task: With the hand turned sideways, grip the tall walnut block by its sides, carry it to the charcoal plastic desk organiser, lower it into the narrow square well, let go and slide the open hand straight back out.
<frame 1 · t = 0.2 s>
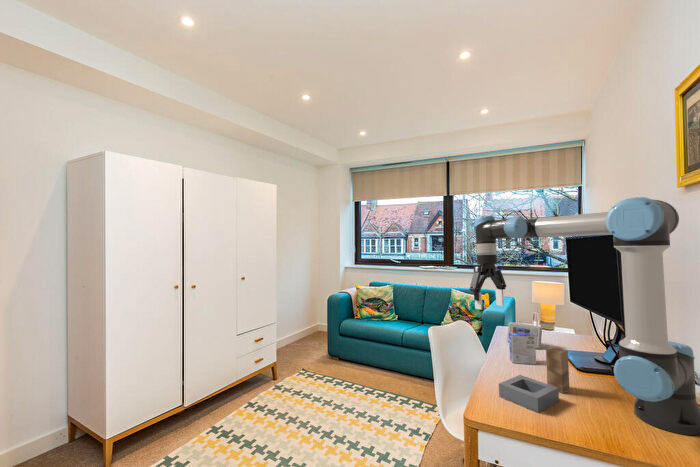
hand: (489, 307, 130), 27 cm above the table, tool pointing down, fingers open, 13 cm apart
ink cartridge box: (522, 362, 143), on the table
digital clock: (524, 345, 166), on the table
walnut block: (558, 389, 116), on the table
organiser: (528, 399, 109), on the table
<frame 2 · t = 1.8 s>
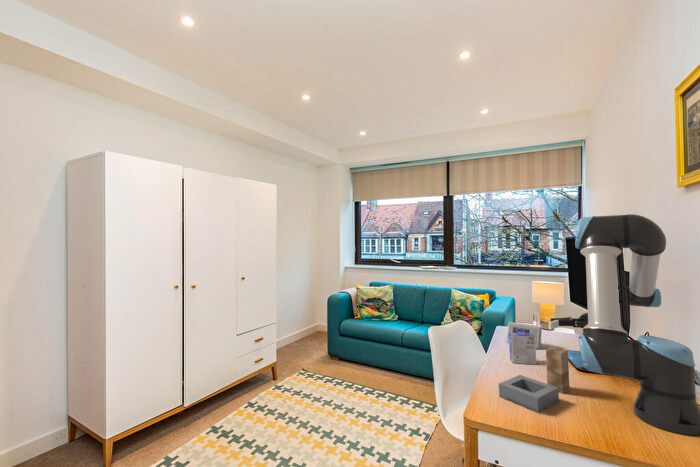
hand: (568, 329, 122), 20 cm above the table, tool horizontal, fingers open, 13 cm apart
nothing on the table moved.
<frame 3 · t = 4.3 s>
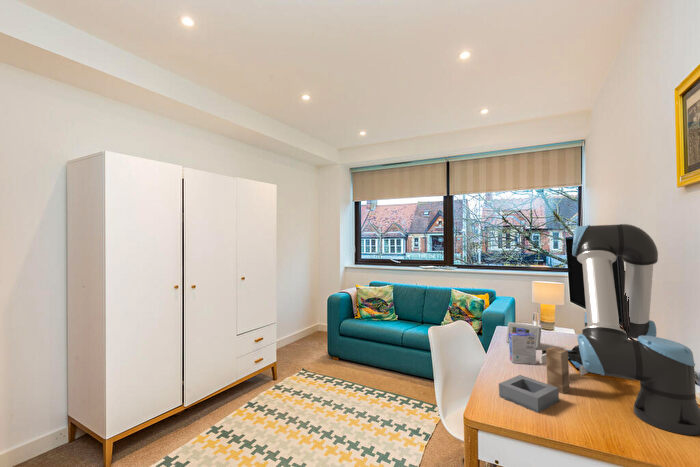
hand: (559, 365, 118), 8 cm above the table, tool horizontal, fingers open, 13 cm apart
nothing on the table moved.
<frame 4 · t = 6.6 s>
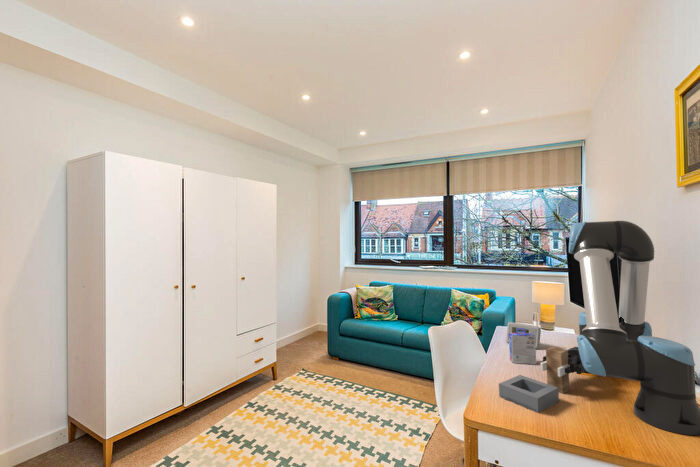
hand: (550, 369, 114), 8 cm above the table, tool horizontal, fingers closed on walnut block, 5 cm apart
walnut block: (558, 389, 116), on the table, touching gripper
everything else where it was.
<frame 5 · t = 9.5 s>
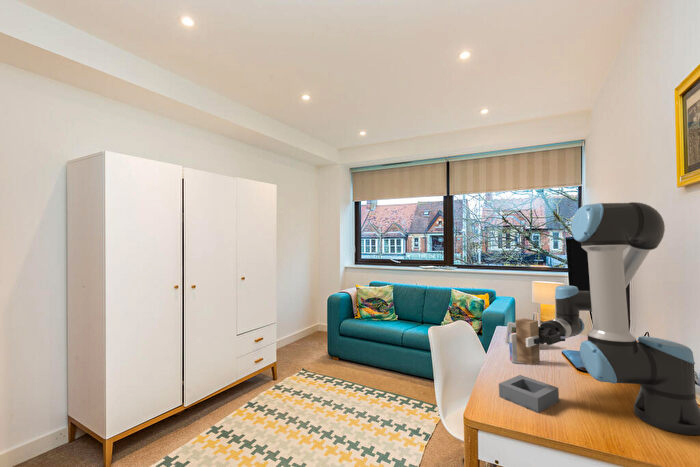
hand: (518, 340, 109), 20 cm above the table, tool horizontal, fingers closed on walnut block, 5 cm apart
walnut block: (528, 361, 111), point 12 cm above the table, touching gripper
everything else where it was.
when the fingers open (10 cm above the table, at t = 12.2 s): walnut block drops 1 cm, resting on organiser.
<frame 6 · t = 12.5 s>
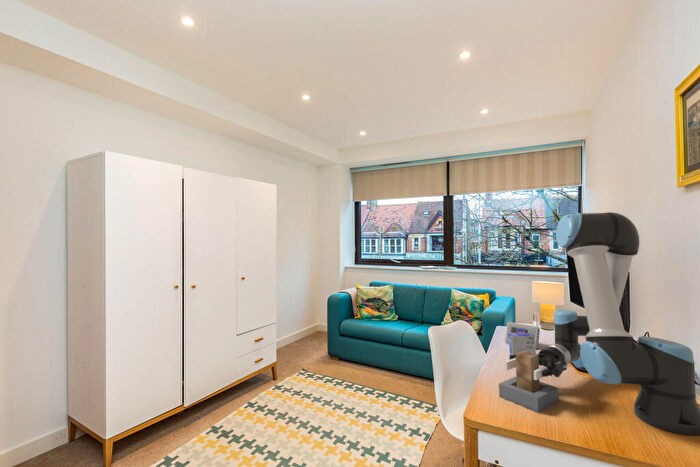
hand: (519, 370, 107), 10 cm above the table, tool horizontal, fingers open, 9 cm apart
walnut block: (528, 396, 109), point 1 cm above the table, touching organiser
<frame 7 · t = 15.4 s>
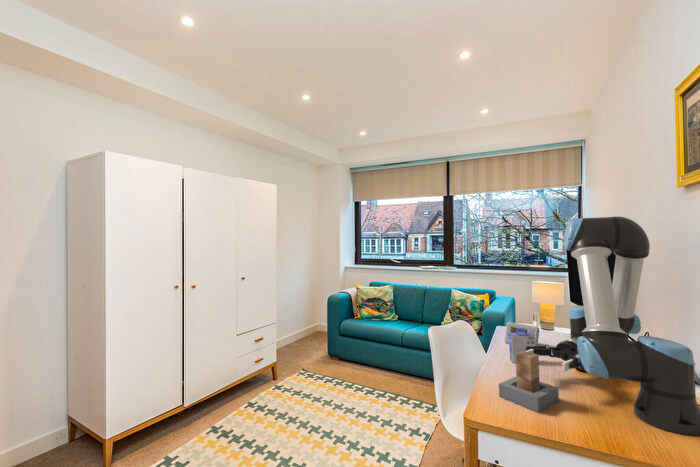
hand: (542, 361, 115), 11 cm above the table, tool horizontal, fingers open, 13 cm apart
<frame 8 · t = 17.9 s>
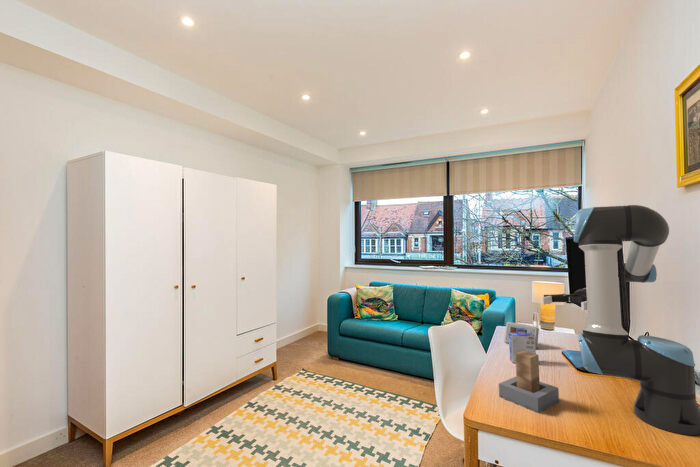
hand: (561, 303, 120), 30 cm above the table, tool horizontal, fingers open, 13 cm apart
at the end: walnut block 0.0 cm off-centre on the organiser, point 1.0 cm above the organiser's base; walnut block tilted 0°; the gripper is holding nothing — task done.
